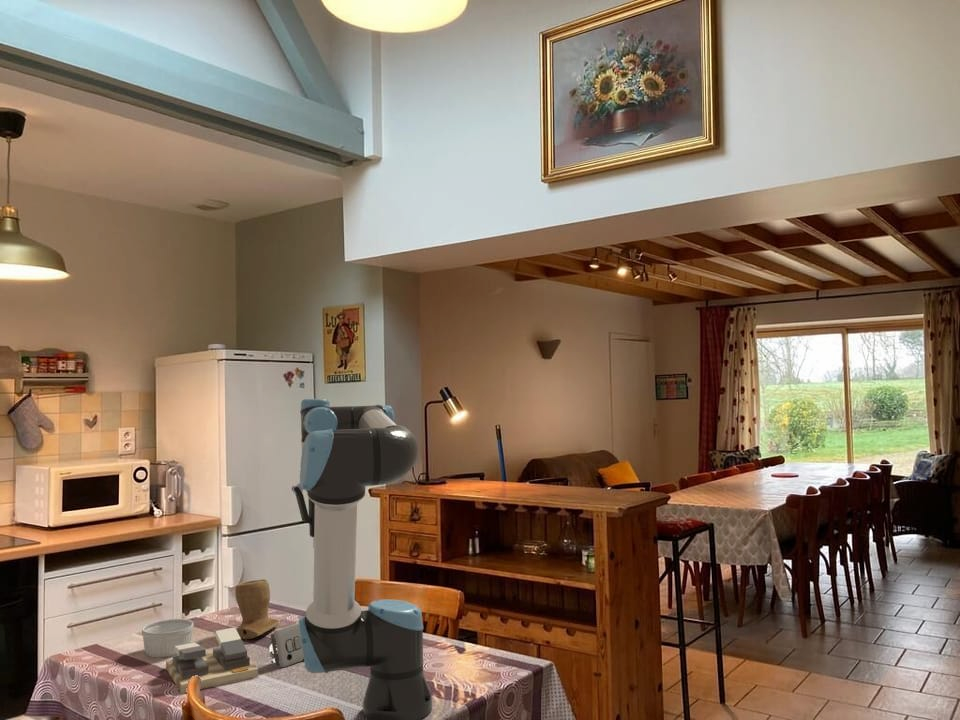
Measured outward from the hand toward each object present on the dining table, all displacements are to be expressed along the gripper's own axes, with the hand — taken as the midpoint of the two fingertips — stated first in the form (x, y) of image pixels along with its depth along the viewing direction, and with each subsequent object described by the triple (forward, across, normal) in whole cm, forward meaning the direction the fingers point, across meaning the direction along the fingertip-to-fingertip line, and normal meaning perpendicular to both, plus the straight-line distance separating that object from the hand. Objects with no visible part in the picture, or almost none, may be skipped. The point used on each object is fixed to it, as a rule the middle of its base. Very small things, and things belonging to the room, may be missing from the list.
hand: (317, 548), depth 202 cm
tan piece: (+30, +7, -36) cm, 47 cm away
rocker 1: (+24, +30, -10) cm, 40 cm away
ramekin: (+30, +31, -34) cm, 55 cm away
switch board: (+29, +25, -10) cm, 40 cm away
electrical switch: (+30, +6, -6) cm, 31 cm away
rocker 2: (+24, +20, -10) cm, 33 cm away
